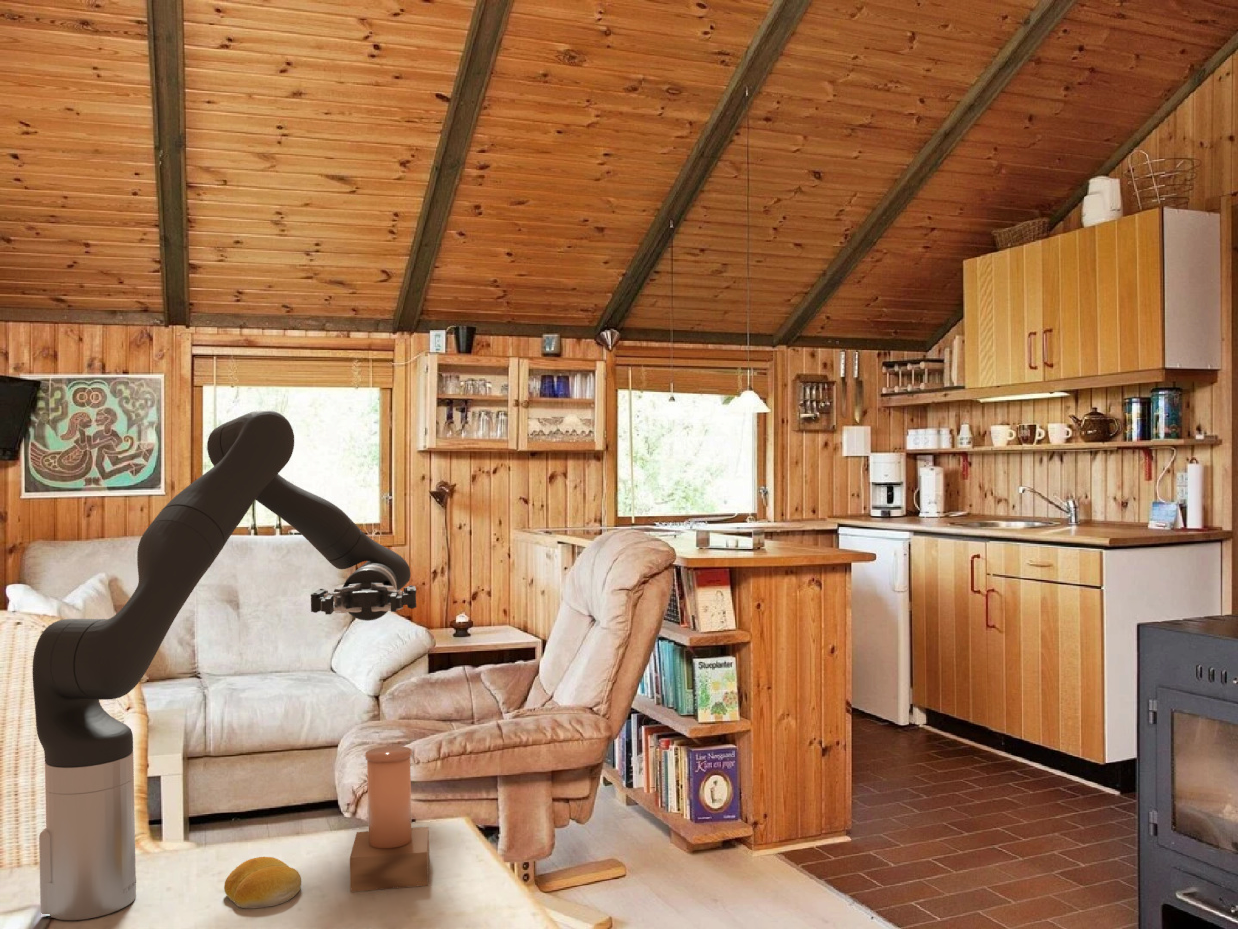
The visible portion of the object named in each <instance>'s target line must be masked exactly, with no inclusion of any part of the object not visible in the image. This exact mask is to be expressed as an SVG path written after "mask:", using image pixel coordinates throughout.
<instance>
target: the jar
mask: <svg viewBox="0 0 1238 929" xmlns="http://www.w3.org/2000/svg"><path fill="white" fill-rule="evenodd" d="M364 755H365V761H366V762H367V764H366V765H367V769H366V770H367V809H368V810H367V814H368V816H367V820H368V831H369V845H370V846H372V847H375V848H395V847H400V846H403V845H406V844H408V843H410V842H411V840H412V828H413V827H412V794H411V793H412V783H411V782H412V780H411V778H412V777H411V757H412V756H413V749H412V748H411V747H408V746H402V745H398V746H397V745H394V746H393V745H392V746H389V745H388V746H380V747H375V748H372V749H369V750H367V751H366V752H365V754H364Z"/></svg>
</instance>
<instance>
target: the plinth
mask: <svg viewBox="0 0 1238 929" xmlns="http://www.w3.org/2000/svg"><path fill="white" fill-rule="evenodd" d="M429 836H430V830H429V826H424V827H423V826H422V827H412V840H411V842H410V843H408V844H406V845H403V846H400V847H395V848H375V847H372V846H370V845H369V830H366V831H357V832H356V834H355V838H354V842H353V846H352V848H351V852H350V856H349V876H350V877H349V881H350V884H349V886H350V887H349V888H350V893H353V892H365V891H366V892H367V891H376V890H389V889H390V890H391V889H399V888H400V889H401V888H413V887H424V886H425V887H426V886H428V882H429V869H430V868H429V867H430V838H429Z"/></svg>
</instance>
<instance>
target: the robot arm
mask: <svg viewBox="0 0 1238 929" xmlns="http://www.w3.org/2000/svg"><path fill="white" fill-rule="evenodd" d="M206 443H207V444H206V446H207V447H206V450H207V454H208V457H209V460H210V462H211V464H212V466H213V467H212V468H211V469H209V470H207V471H206V472H205V473H203V475H201V476H200V477H198V478H197V479H196V480H194V481H193V482H191V484H189V485H188V486H186V487H185V488H184V489H182V490H181V491H180V492H179V493H178V494H176V495H175V496H174V497H173V498H172V499H171V500H170V501H169V502H168V503H167V504H166V505H165V506H164V507H163V508H162V509H161V510H160V511H159V513H158V514H157V515H156V517H155V518H154V519H153V520H152V522H151V523H150V524H149V525H148V527H147V528H146V530H145V531H144V533H143V534H142V536H141V537H140V540H139V542H138V546H137V554H136V555H137V556H136V558H137V564H136V565H137V572H138V583H137V586H136V588H135V590H134V592H133V593H132V595H131V597H130V598H129V599H128V601H127V602H126V603H125V604H124V605H123V607H122V608H120V610H119V611H118V612H117V613H116V614H114V615H113V616H112V617H110V618H65V619H59V620H57V621H55V622H52V623H50V624H49V625H48V626H47V627H46V628H45V629H44V630H43V631H42V633H41V634H40V636H39V638H38V640H37V642H36V645H35V649H34V652H33V657H32V658H33V660H32V686H33V687H32V688H33V690H32V691H33V700H34V714H35V726H36V734H37V737H38V740H39V742H40V744H41V747H42V749H43V753H44V780H45V784H44V786H45V787H44V788H45V829H43V830H42V831H41V832H40V833H39V835H38V836H39V837H38V839H39V840H38V842H39V844H38V845H39V893H40V895H39V896H40V898H39V899H40V901H39V902H40V903H39V904H40V914H41V913H42V914H50V916H51V917H50V918H53V919H57V920H62V921H63V920H64V921H77V920H87V919H93V918H97V917H102V916H105V915H109V914H112V913H114V912H117V911H120V910H121V909H125V907H127V906H129V905H130V904H132V902H134V900H136V897H137V874H136V873H137V871H136V869H137V868H136V822H135V821H136V819H135V815H136V814H135V776H134V775H135V773H134V771H135V770H134V769H135V768H134V767H135V766H134V764H135V762H134V737H133V736H134V735H133V731H132V729H131V728H130V726H128V725H127V724H125V723H124V722H122V721H120V720H118V719H116V718H114V717H113V716H112V715H110V714H109V713H108V712H107V711H106V710H105V708H104V707H103V706H102V704H101V703H100V700H102V701H103V700H104V701H105V700H107V701H108V700H115V699H119V698H121V697H124V696H126V695H128V694H129V693H130V692H132V691H133V690H134V689H135V688H136V686H137V685H138V684H139V682H140V681H141V680H142V679H143V677H144V676H145V674H146V672H147V671H148V669H149V668H150V666H151V663H152V662H153V660H154V659H155V657H156V654H157V653H158V650H159V649H160V648H161V647H160V646H161V645H162V643H163V641H164V640H165V637H166V636H167V634H168V632H169V631H170V629H171V626H172V625H173V623H174V622H175V619H176V617H177V616H178V614H179V613H180V611H181V610H182V607H183V606H184V605H185V603H186V602H187V600H188V599H189V598H190V595H191V594H192V592H193V591H194V589H195V588H196V587H197V585H198V583H199V582H200V581H201V579H202V578H203V576H204V575H205V574H206V572H207V571H208V570H209V569H210V567H211V566H212V564H213V563H214V561H215V560H216V559H217V558H218V556H219V554H220V553H221V551H222V550H223V549H224V547H225V545H226V543H227V542H228V540H229V539H230V537H231V535H232V534H234V531H235V530H236V528H237V527H238V526H239V524H240V523H241V522H242V520H243V519H244V517H245V516H246V514H247V513H248V512H249V510H250V508H251V507H252V505H253V503H254V502H255V501H256V502H257V503H260V505H262V506H264V507H265V508H266V509H268V511H270V512H272V513H273V514H275V515H276V516H277V517H279V518H280V519H282V520H283V521H284V522H286V523H287V524H288V525H289V526H291V527H292V528H294V530H296V531H297V532H298V533H299V534H300V535H302V537H304V538H305V540H306V541H308V542H309V543H310V545H312V546H313V547H314V548H315V549H316V550H317V551H318V553H320V554H321V555H322V557H324V558H325V560H327V562H329V563H330V565H332V566H333V567H335V569H338V570H347V569H350V568H352V567H355V566H356V565H358V564H361V563H363V564H362V565H361V566H360V567H359V568H357V569H356V570H355V571H353V573H351V574H350V575H349V576H348V577H347V578H346V579H345V581H344V584H343V586H342V587H336V588H335V589H334V590H333V592H329V591H328V590H327V589H325V588H319V589H317V590H315V591H313V592H312V593H311V594H310V612H311V613H315V614H317V613H319V612H323V613H325V615H332V614H333V613H334V612H335V613H337V614H347V613H348V614H349V615H351V617H354V619H357V620H360V621H365V622H367V621H368V622H369V621H375V620H378V619H380V618H382V617H383V616H384V615H386V614H387V613H388V612H390V613H394V612H397V611H400V610H403V609H404V606H407V608H408V609H411V610H414V609H416V608H417V589H416V585H409V586H406V585H407V584H408V583H409V582H410V579H411V568H410V566H409V564H408V562H407V561H406V560H405V559H404V558H403V557H402V556H401V555H400V554H398V553H397V552H395V551H393V550H391V549H390V548H388V547H386V546H384V545H382V544H380V543H379V542H377V541H375V540H373V538H371V537H370V536H368V535H367V534H366V533H365V532H363V531H362V529H361V528H359V526H358V525H357V524H356V523H355V522H354V520H352V519H351V518H350V517H349V516H348V514H347V513H345V512H344V510H342V509H341V508H339V507H338V506H337V505H335V504H334V503H332V502H331V501H329V500H327V499H325V498H324V497H321V496H319V495H316V494H314V493H312V492H310V491H308V490H306V489H304V488H301V487H299V486H298V485H296V484H294V483H292V482H290V481H289V480H287V479H286V478H284V477H283V476H281V475H280V474H279V473H280V472H281V471H282V470H283V469H284V468H285V466H286V465H287V464H288V462H290V459H291V458H292V455H293V453H294V447H295V434H294V430H293V427H292V425H291V423H290V421H289V420H288V419H287V418H286V417H285V416H284V415H283V414H281V413H280V412H277V411H275V410H272V409H271V410H270V409H261V410H260V409H259V410H255V411H251V412H249V413H246V414H243V415H241V416H238V417H236V418H233V419H232V420H229V421H226V422H225V423H222V424H221V425H218V426H217V427H216V428H214V429H213V430H212V432H210V434H209V436H208V438H207V442H206ZM364 562H365V563H364ZM402 589H403V590H402Z"/></svg>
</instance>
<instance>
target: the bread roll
mask: <svg viewBox="0 0 1238 929" xmlns="http://www.w3.org/2000/svg"><path fill="white" fill-rule="evenodd" d="M301 886H302V876H301V874H300V872H299V871H298V870H297V869H295V868H293V867H291V866H289V865H288V864H287V863H285V862H284V861H282V860H281V859H278V858H276V857H273V856H272V857H271V856H259V857H254V858H249V859H246V860H245V861H243V862H241V863H240V864H239V865H238V866H236V867H235V869H233V870H232V871H231V872H230V873H229V874H228V876H227V877H226V878H225V881H224V886H223V888H224V892H225V894H226V896H227V898H228V899H229V900H231V901H232V902H233V903H234V904H235V905H236V907H239V908H240V909H260V908H269V907H270V908H271V907H274V906H277V905H281V904H284V903H286V902H288V901H290V900H291V899H293V897H295V896H296V895H297V894H298V893H299V891H300V890H301Z"/></svg>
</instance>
